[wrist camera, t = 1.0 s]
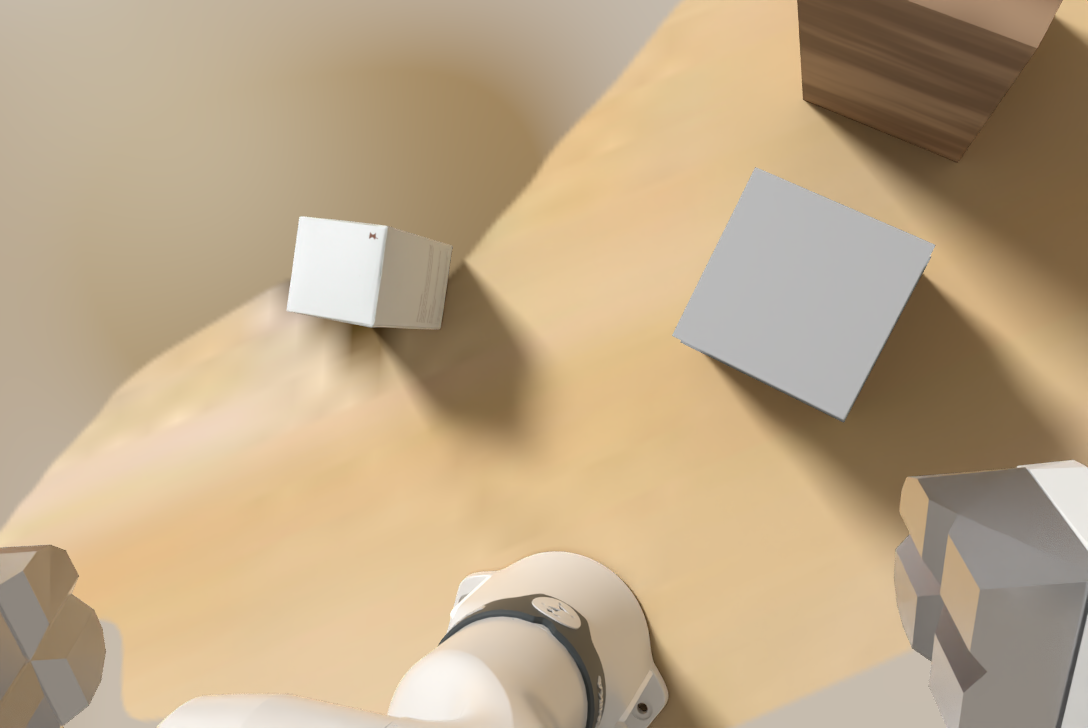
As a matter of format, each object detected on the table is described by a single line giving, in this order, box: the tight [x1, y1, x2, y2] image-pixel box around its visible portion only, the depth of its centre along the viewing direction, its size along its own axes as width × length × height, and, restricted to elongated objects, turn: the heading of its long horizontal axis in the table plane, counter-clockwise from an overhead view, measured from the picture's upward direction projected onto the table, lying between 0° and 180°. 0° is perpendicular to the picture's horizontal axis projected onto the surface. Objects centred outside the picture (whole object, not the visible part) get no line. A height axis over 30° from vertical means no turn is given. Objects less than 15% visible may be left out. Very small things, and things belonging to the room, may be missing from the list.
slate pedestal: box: [672, 167, 935, 422], centre depth 64 cm, size 12×12×17 cm
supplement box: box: [287, 216, 453, 329], centre depth 75 cm, size 7×7×13 cm
